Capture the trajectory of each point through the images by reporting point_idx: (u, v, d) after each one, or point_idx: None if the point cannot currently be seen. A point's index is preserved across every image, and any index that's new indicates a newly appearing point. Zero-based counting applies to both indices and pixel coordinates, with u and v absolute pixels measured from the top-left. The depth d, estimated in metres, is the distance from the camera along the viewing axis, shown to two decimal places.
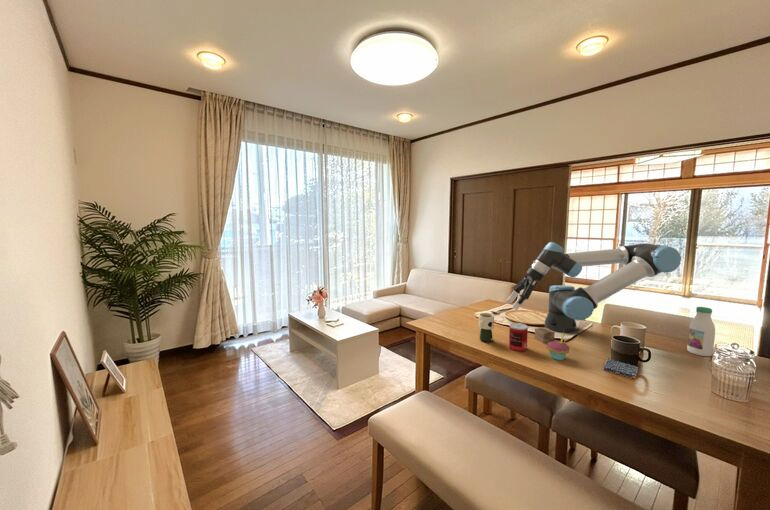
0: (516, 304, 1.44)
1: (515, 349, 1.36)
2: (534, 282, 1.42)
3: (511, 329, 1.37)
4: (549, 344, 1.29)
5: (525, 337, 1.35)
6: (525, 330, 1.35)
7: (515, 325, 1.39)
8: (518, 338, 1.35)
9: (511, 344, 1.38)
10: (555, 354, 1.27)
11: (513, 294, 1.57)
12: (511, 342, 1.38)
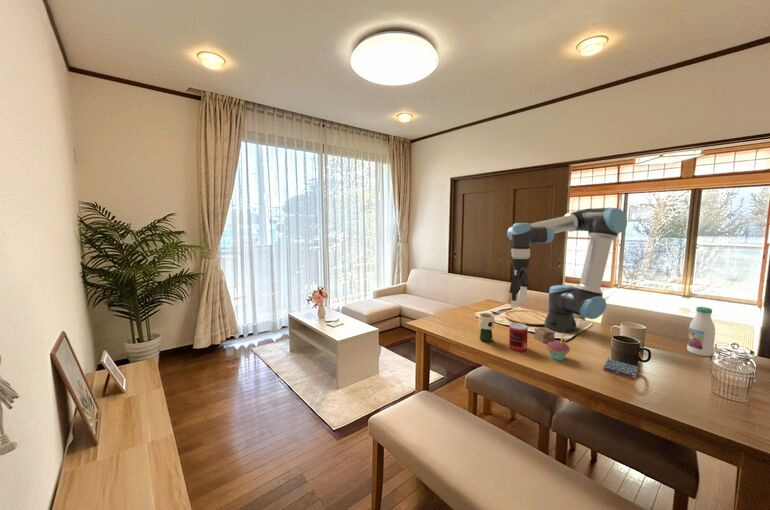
0: (513, 302, 1.31)
1: (515, 349, 1.36)
2: (515, 272, 1.29)
3: (511, 329, 1.37)
4: (549, 344, 1.29)
5: (525, 337, 1.35)
6: (525, 330, 1.35)
7: (515, 325, 1.39)
8: (518, 338, 1.35)
9: (511, 344, 1.38)
10: (555, 354, 1.27)
11: (522, 290, 1.41)
12: (511, 342, 1.38)
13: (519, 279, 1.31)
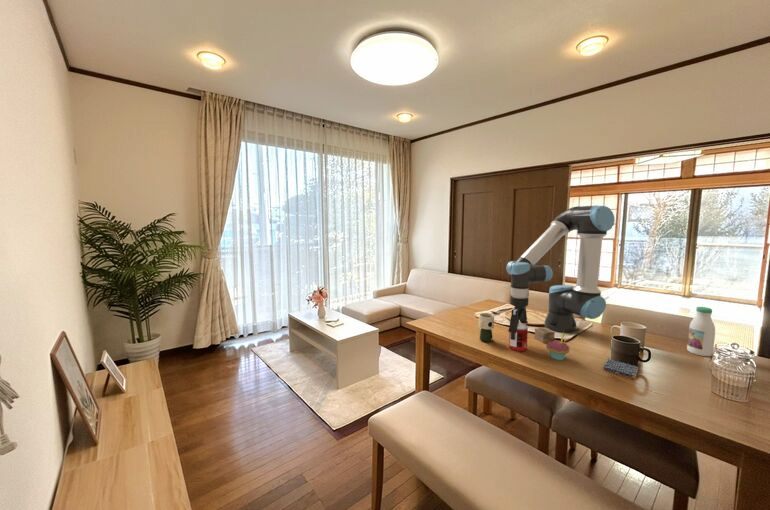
0: (511, 340, 1.33)
1: (515, 349, 1.36)
2: (514, 311, 1.32)
3: None
4: (549, 344, 1.29)
5: (525, 337, 1.35)
6: (525, 330, 1.35)
7: None
8: (518, 338, 1.35)
9: None
10: (555, 354, 1.27)
11: None
12: None
13: (518, 318, 1.33)
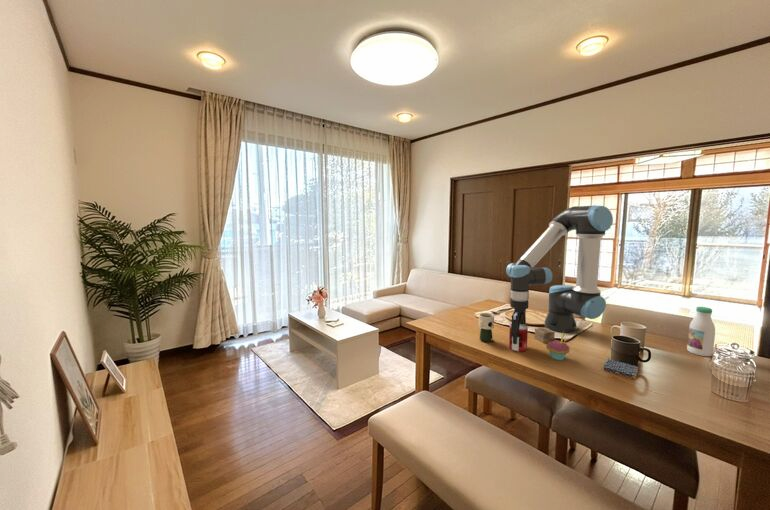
0: (513, 345, 1.36)
1: None
2: (514, 317, 1.32)
3: None
4: (549, 344, 1.29)
5: (525, 337, 1.35)
6: (525, 330, 1.35)
7: None
8: None
9: (511, 344, 1.38)
10: (555, 354, 1.27)
11: None
12: (511, 342, 1.38)
13: (519, 322, 1.34)
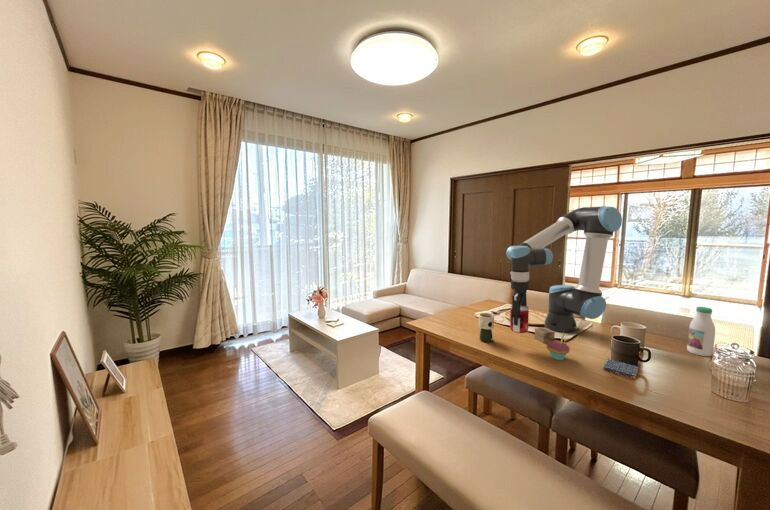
0: (514, 326, 1.35)
1: None
2: (515, 298, 1.31)
3: None
4: (549, 344, 1.29)
5: (526, 318, 1.34)
6: (526, 311, 1.33)
7: None
8: None
9: (512, 326, 1.37)
10: (555, 354, 1.27)
11: None
12: (512, 324, 1.37)
13: (519, 303, 1.33)
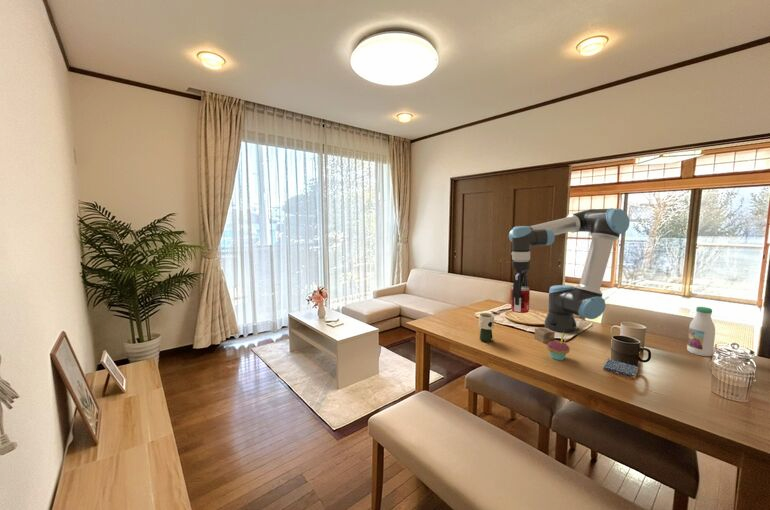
0: (516, 306, 1.35)
1: None
2: (516, 277, 1.31)
3: None
4: (549, 344, 1.29)
5: (527, 298, 1.35)
6: (527, 291, 1.34)
7: None
8: None
9: (513, 306, 1.37)
10: (555, 354, 1.27)
11: None
12: (513, 304, 1.37)
13: (520, 283, 1.34)
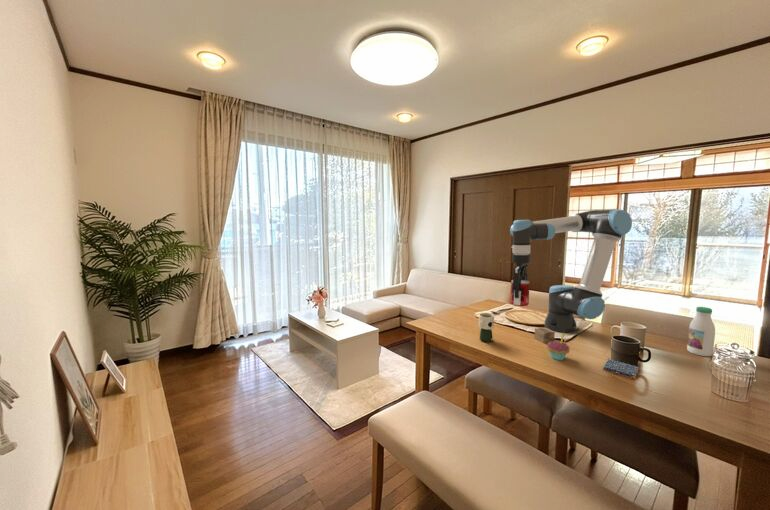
0: (515, 299, 1.36)
1: None
2: (516, 270, 1.32)
3: None
4: (549, 344, 1.29)
5: (527, 291, 1.35)
6: (527, 284, 1.35)
7: None
8: None
9: (513, 299, 1.38)
10: (555, 354, 1.27)
11: None
12: (513, 297, 1.38)
13: (520, 276, 1.34)
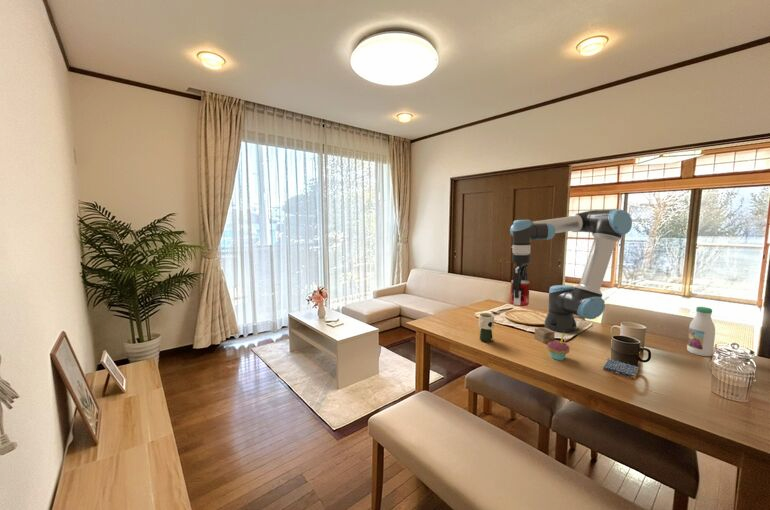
0: (515, 299, 1.36)
1: None
2: (516, 270, 1.32)
3: None
4: (549, 344, 1.29)
5: (527, 291, 1.35)
6: (527, 284, 1.35)
7: None
8: None
9: (513, 299, 1.38)
10: (555, 354, 1.27)
11: None
12: (513, 297, 1.38)
13: (520, 276, 1.34)
